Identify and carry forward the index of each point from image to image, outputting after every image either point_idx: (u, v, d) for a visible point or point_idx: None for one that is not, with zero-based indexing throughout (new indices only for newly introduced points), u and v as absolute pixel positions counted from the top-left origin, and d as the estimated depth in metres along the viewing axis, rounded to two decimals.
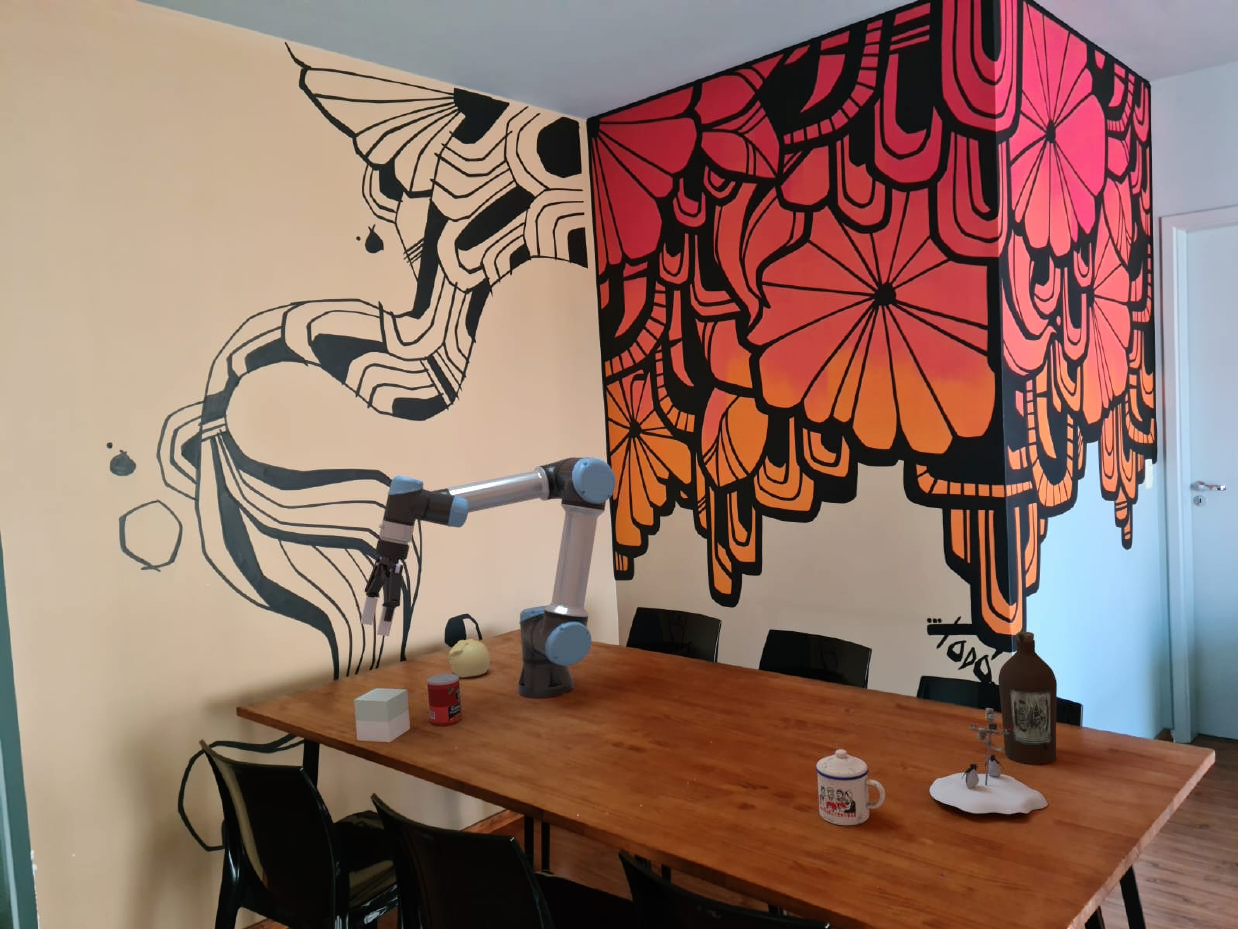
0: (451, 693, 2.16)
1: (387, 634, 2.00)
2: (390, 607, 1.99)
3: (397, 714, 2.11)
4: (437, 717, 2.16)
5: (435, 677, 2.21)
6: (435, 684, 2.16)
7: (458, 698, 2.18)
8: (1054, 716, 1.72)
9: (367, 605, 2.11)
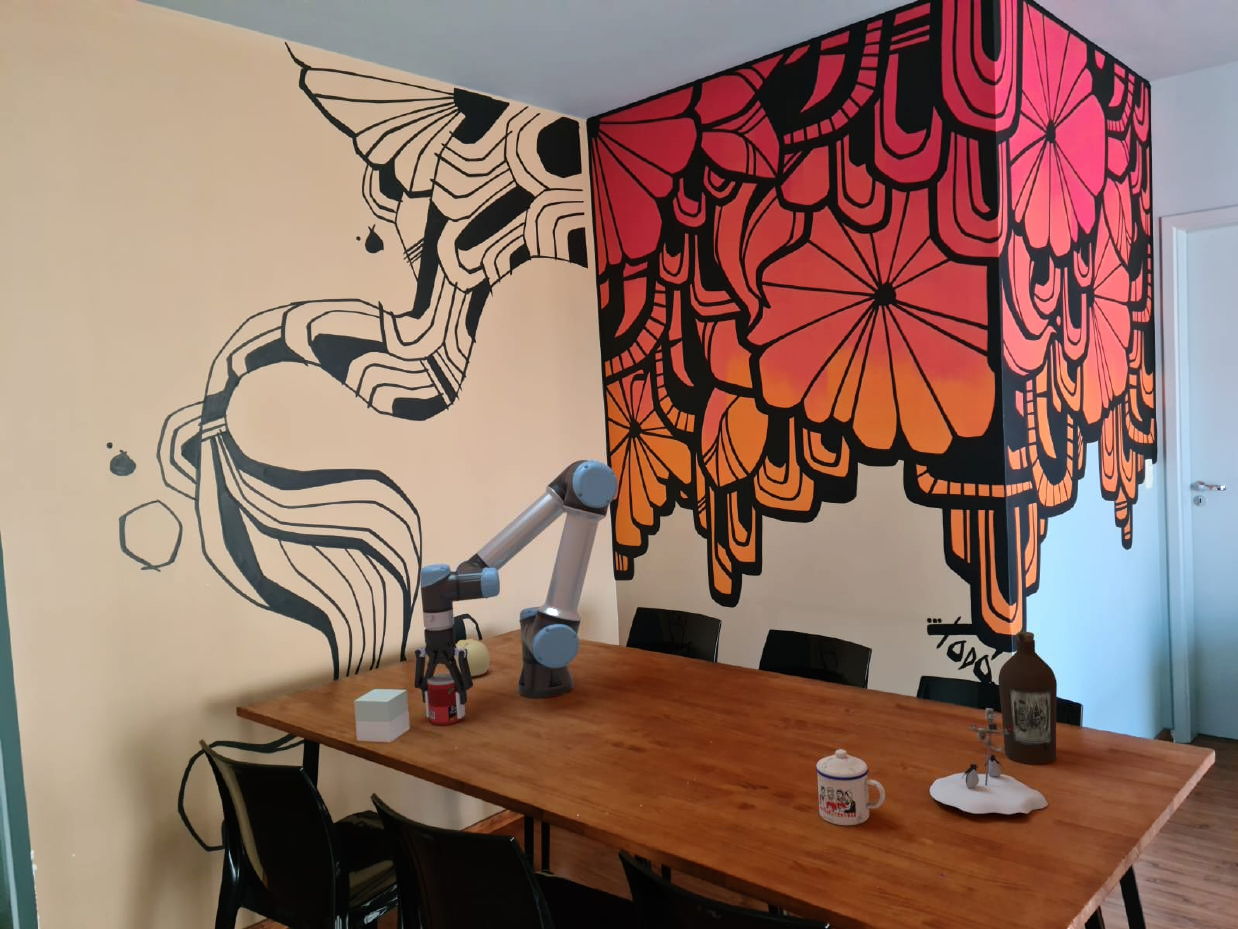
0: (451, 693, 2.16)
1: (464, 714, 2.19)
2: (465, 691, 2.17)
3: (397, 714, 2.11)
4: (437, 716, 2.16)
5: (435, 677, 2.21)
6: (435, 684, 2.16)
7: None
8: (1054, 716, 1.72)
9: (428, 698, 2.20)
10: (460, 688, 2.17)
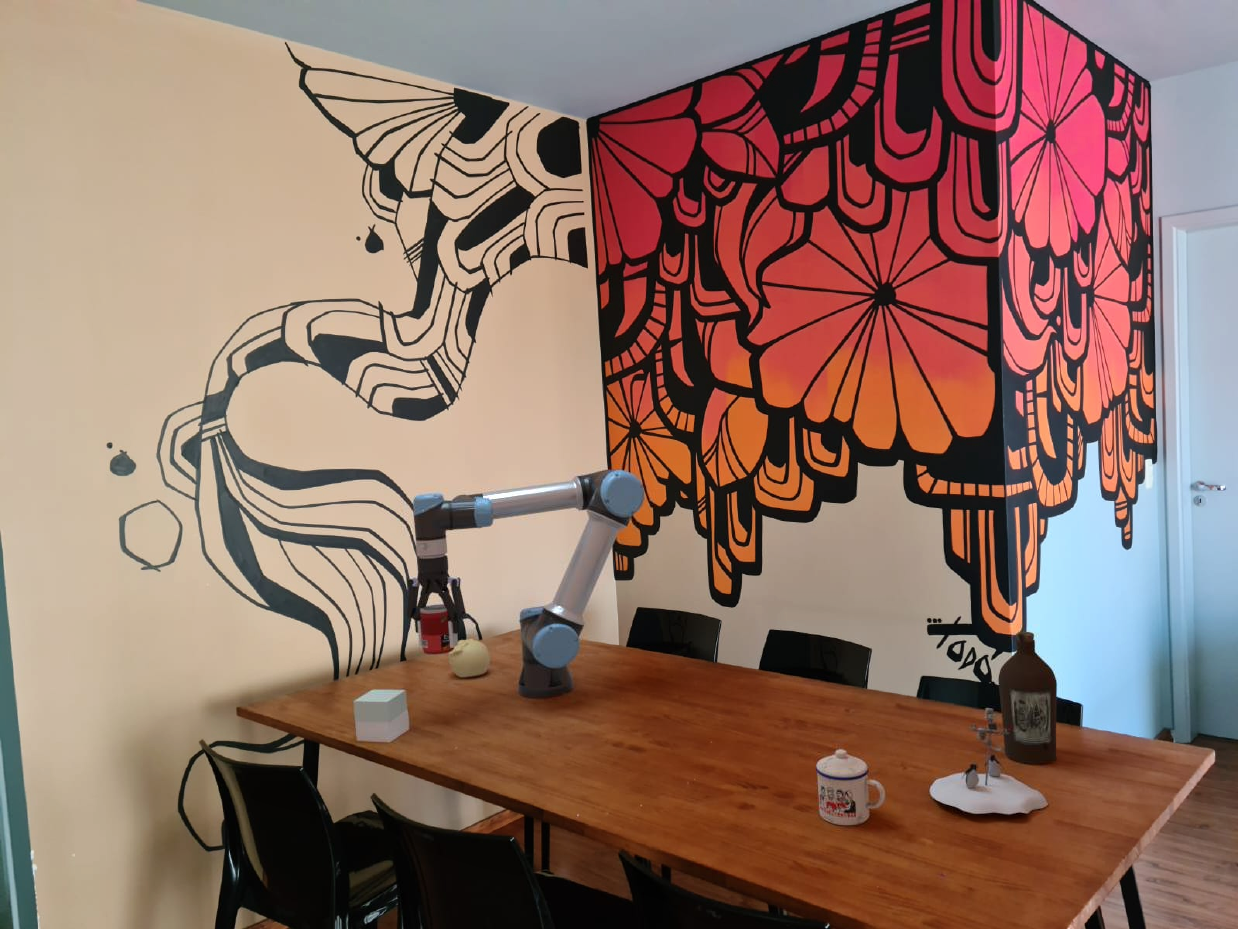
0: (444, 621, 2.15)
1: (457, 643, 2.18)
2: (458, 620, 2.16)
3: (397, 715, 2.11)
4: (430, 645, 2.15)
5: (428, 607, 2.20)
6: (428, 612, 2.15)
7: None
8: (1054, 716, 1.72)
9: None
10: (453, 617, 2.15)
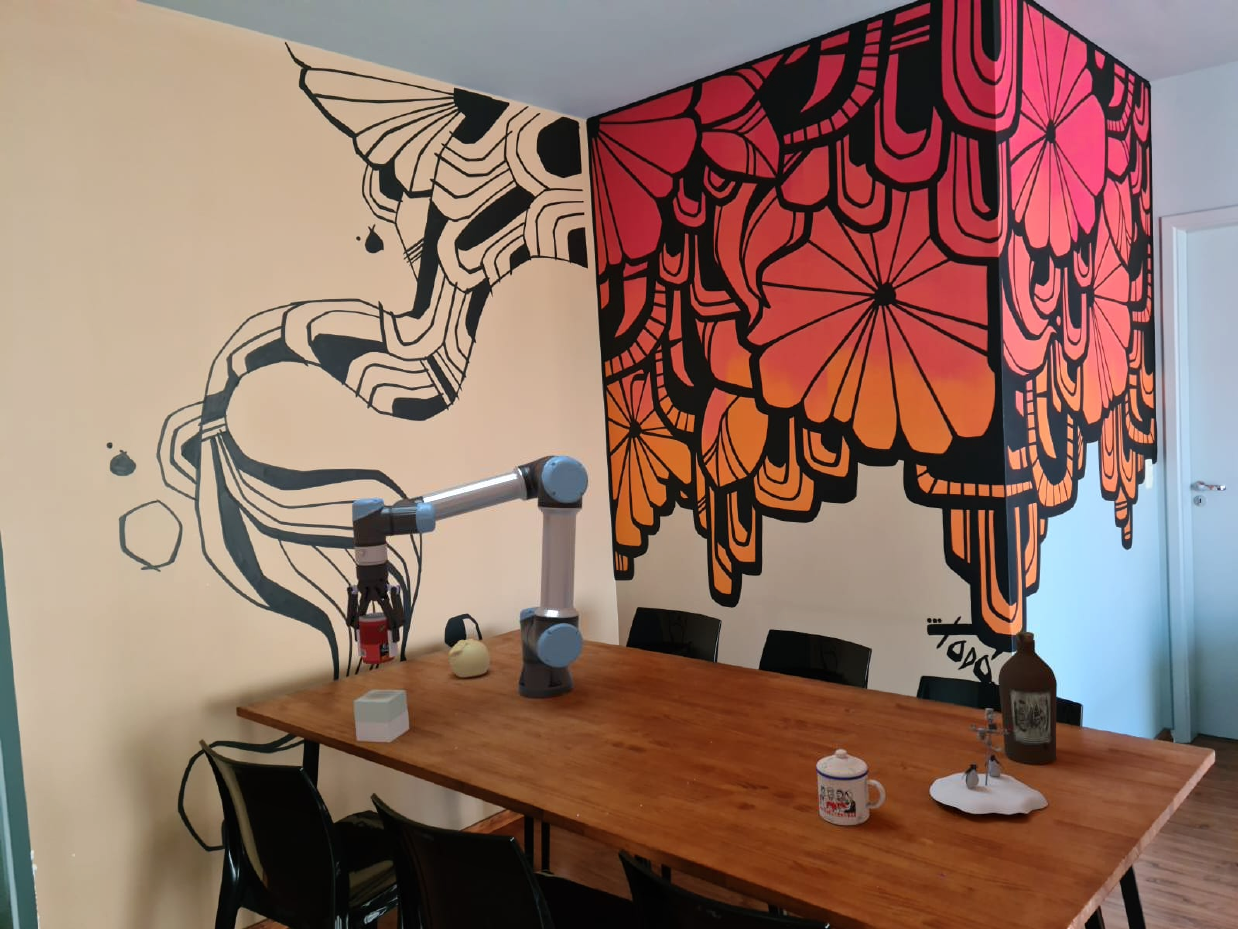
0: (382, 630, 2.09)
1: (397, 653, 2.11)
2: (397, 628, 2.10)
3: (397, 715, 2.11)
4: (368, 655, 2.08)
5: (368, 615, 2.13)
6: (366, 621, 2.08)
7: None
8: (1054, 716, 1.72)
9: None
10: (392, 625, 2.09)
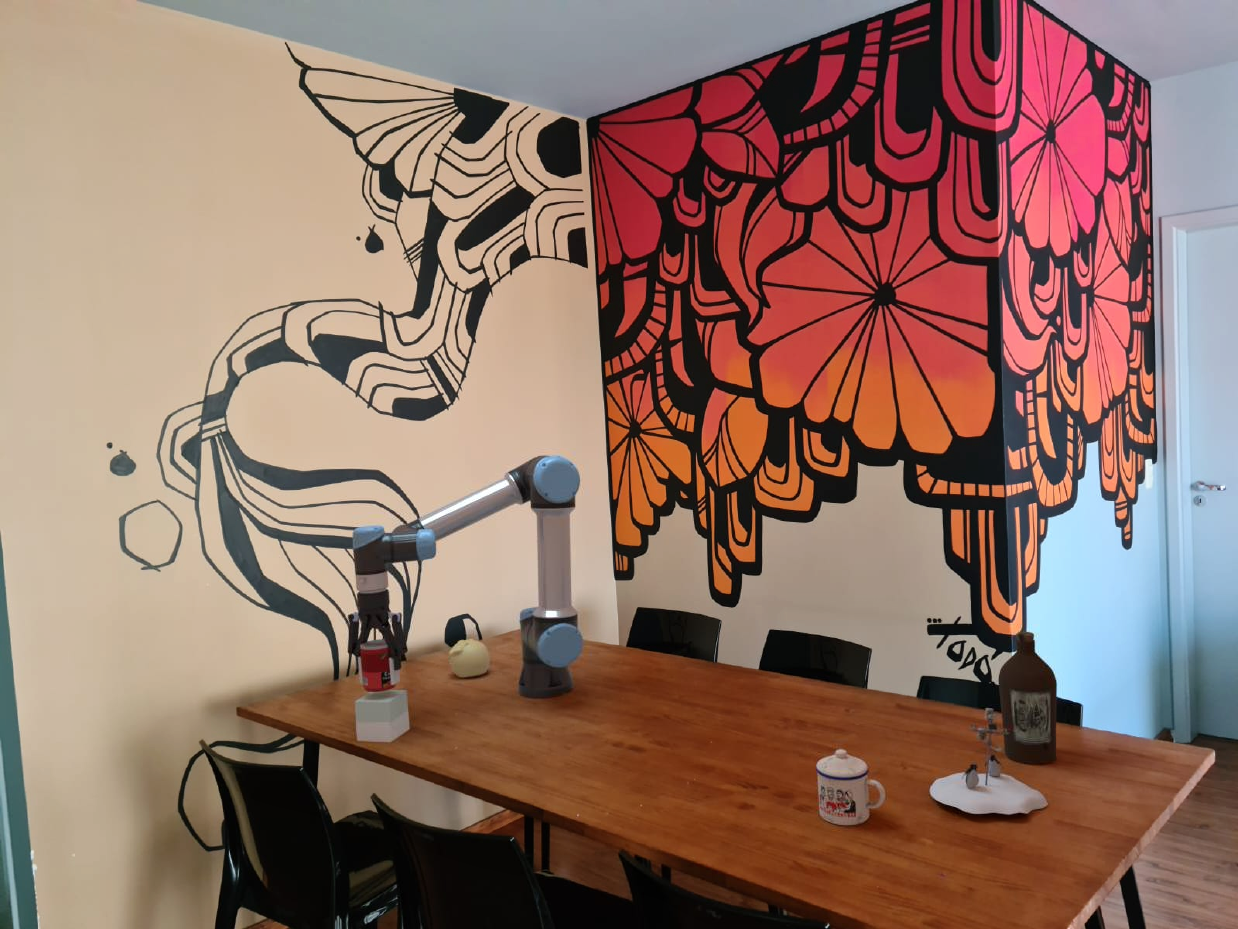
0: (384, 658, 2.09)
1: (398, 680, 2.12)
2: (399, 656, 2.10)
3: (398, 715, 2.11)
4: (370, 682, 2.09)
5: (369, 642, 2.14)
6: (368, 649, 2.08)
7: None
8: (1054, 716, 1.72)
9: None
10: (394, 653, 2.09)
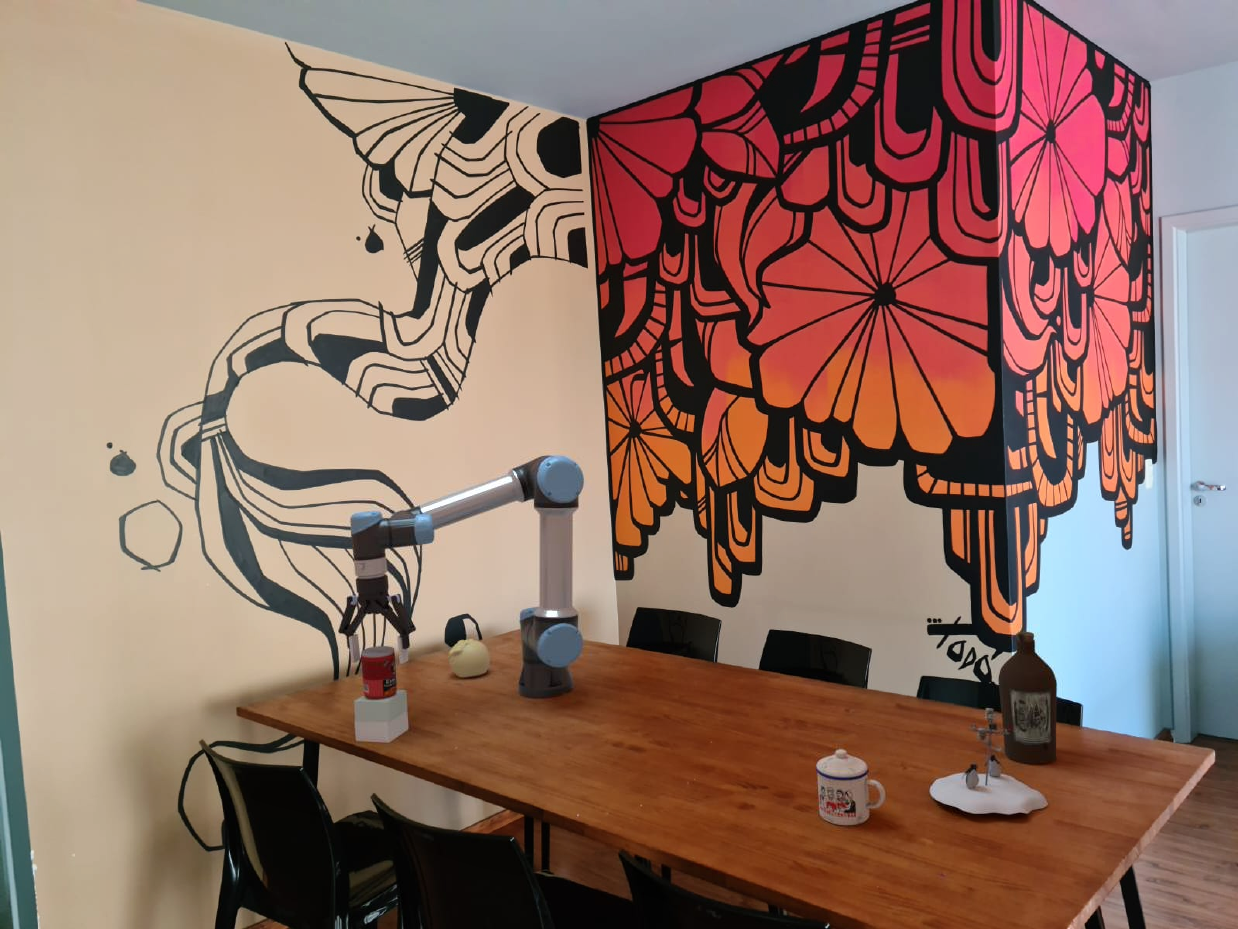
0: (386, 666, 2.09)
1: (407, 659, 2.11)
2: (407, 635, 2.09)
3: (397, 715, 2.11)
4: (371, 690, 2.08)
5: (369, 649, 2.13)
6: (369, 656, 2.08)
7: (393, 671, 2.11)
8: (1054, 716, 1.72)
9: (353, 644, 2.13)
10: (401, 632, 2.08)
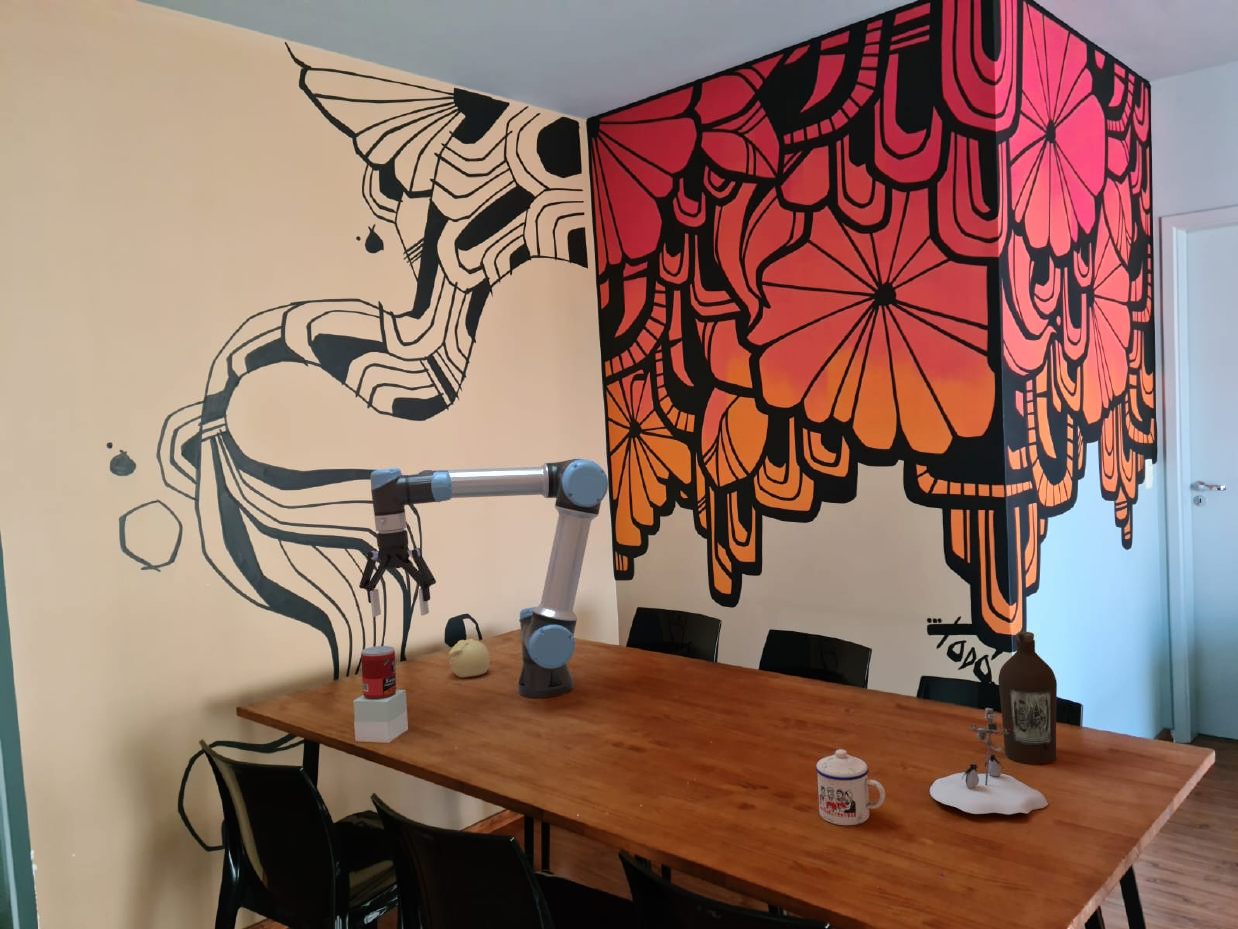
0: (386, 665, 2.09)
1: (428, 611, 2.17)
2: (428, 587, 2.15)
3: (396, 714, 2.11)
4: (371, 689, 2.08)
5: (369, 649, 2.13)
6: (370, 655, 2.08)
7: (393, 670, 2.11)
8: (1054, 716, 1.72)
9: (374, 598, 2.19)
10: (422, 584, 2.14)
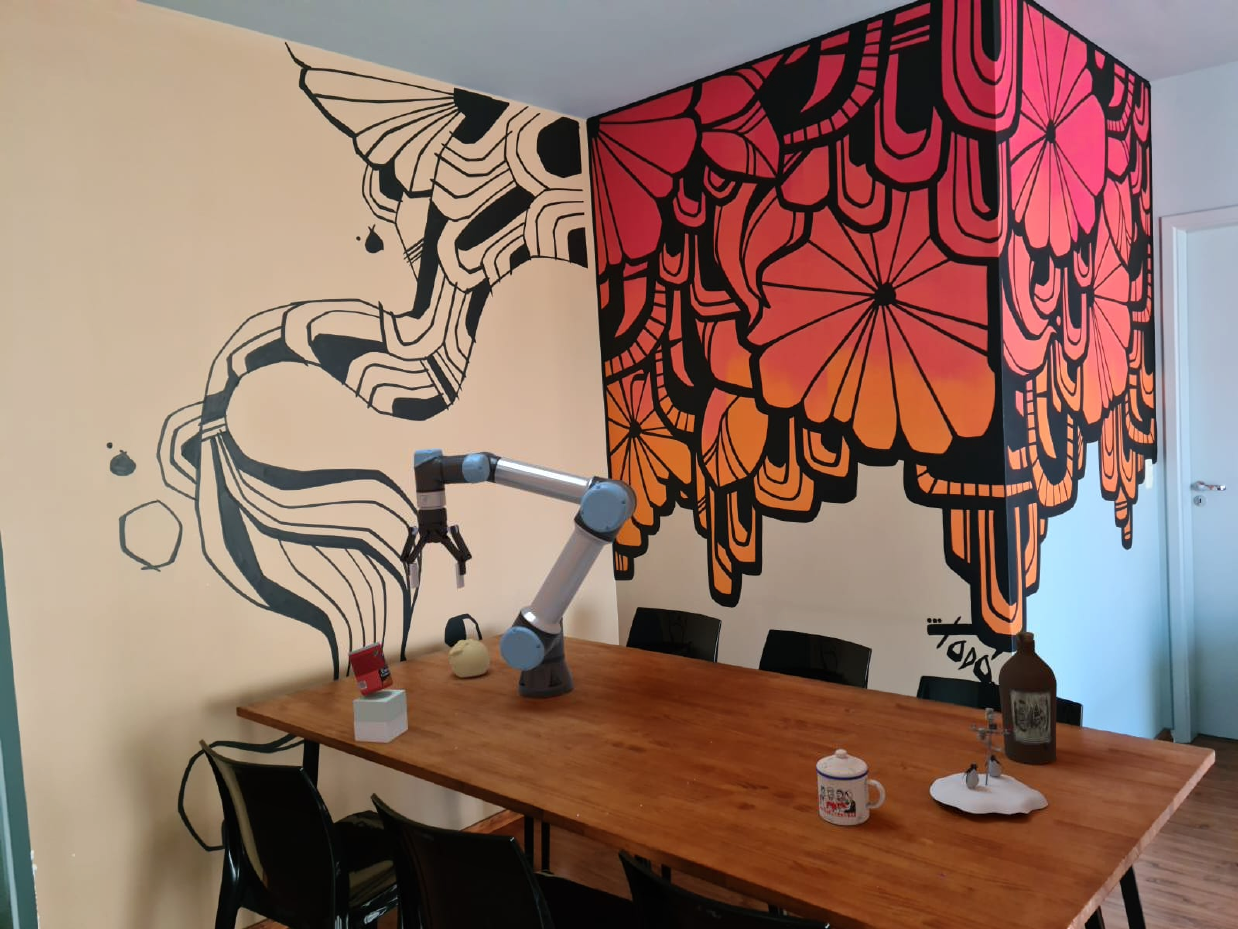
0: (377, 656, 2.11)
1: (463, 585, 2.29)
2: (464, 562, 2.27)
3: (396, 715, 2.11)
4: (369, 684, 2.09)
5: None
6: (359, 651, 2.09)
7: (385, 661, 2.13)
8: (1054, 716, 1.72)
9: (413, 571, 2.32)
10: (459, 559, 2.27)
